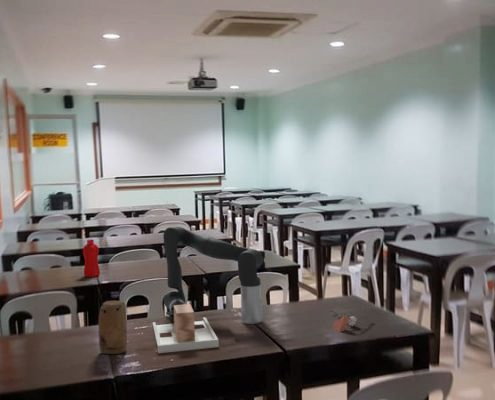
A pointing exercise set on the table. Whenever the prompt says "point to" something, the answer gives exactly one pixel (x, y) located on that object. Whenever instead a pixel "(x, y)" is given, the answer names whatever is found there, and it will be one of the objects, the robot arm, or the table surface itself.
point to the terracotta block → (184, 323)
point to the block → (112, 327)
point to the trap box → (170, 344)
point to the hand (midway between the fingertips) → (182, 319)
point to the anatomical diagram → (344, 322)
